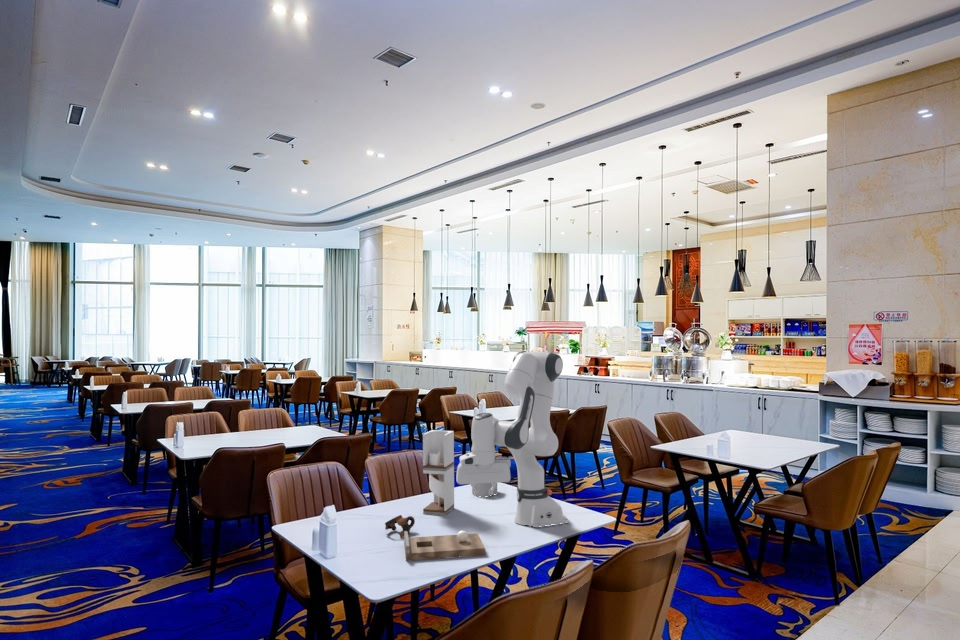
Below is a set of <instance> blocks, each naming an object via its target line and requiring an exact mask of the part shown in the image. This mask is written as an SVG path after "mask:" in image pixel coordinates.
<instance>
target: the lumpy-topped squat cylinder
mask: <svg viewBox="0 0 960 640" xmlns="http://www.w3.org/2000/svg"><path fill="white" fill-rule="evenodd" d="M491 487H492V484H491V483H480V484H475V487H474V488H475V490H478V496H481V497H485V496H490V495H489V489H491ZM496 493H497V494H498V483H496V487H495V489H494V490H493V495H494V494H496ZM472 494H473V495H474V490H473V488H472V487H471V495H472ZM497 494H496V495H497ZM473 495H472V496H473ZM478 496H477V497H478ZM494 496H495V495H494ZM481 497H480V498H481Z"/></svg>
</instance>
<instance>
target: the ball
mask: <svg viewBox="0 0 960 640" xmlns="http://www.w3.org/2000/svg"><path fill="white" fill-rule="evenodd" d="M468 534H469V533H467V531H465V530H460V531H458V532H457V533H456V535H457V539H458V540H459V541H460V542H465V541H466V540H467V538H468Z"/></svg>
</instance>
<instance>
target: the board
mask: <svg viewBox="0 0 960 640" xmlns="http://www.w3.org/2000/svg"><path fill="white" fill-rule="evenodd" d="M467 534H468V538H467V540H466V541H465V542H460V541H459V540H458V539H457V534H447V535H446V534H445V535H431V536H416V537H413V536H412V537H409V535H408V532H407V531H404V537H403V539H404V541H403V543H404V544H403V546H404V554H405V562H406V561H407V560H412V561H421V560H420V559H426V560H435V559H436V560H437V558H440V559H447V558H446V557H454V558H460V557H459V556H468V557H479V556H481V557H482V556H486V548H485V545H484V543H483V541H482V538H481V537H480V535H479V533H477V532H476V533H467ZM407 562H408V561H407Z"/></svg>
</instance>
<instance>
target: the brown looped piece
mask: <svg viewBox="0 0 960 640" xmlns="http://www.w3.org/2000/svg"><path fill="white" fill-rule="evenodd" d="M409 521H410V523H409ZM396 524H397V525H398V526H400V527H401V528H402V530H401V531H400V532H398V535H399V537H400V539H402V538H404V531H407V532H408V536H409V535H410V534H411V529H412V528H413V527H414V525H415V517H413V516H410V515H409V516H407V517H403V516H402V514H399V515H397V516H395V517H393V518H391V519H390V520H388V521H386V522H384V525H385V528H384V529H385V530H387V531H388V530H390V529H391V531H393V532H395V531H396V530H397V526H396Z"/></svg>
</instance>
